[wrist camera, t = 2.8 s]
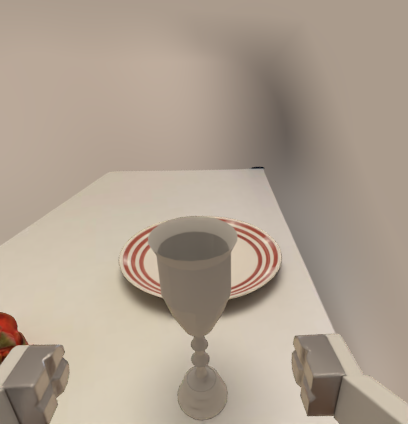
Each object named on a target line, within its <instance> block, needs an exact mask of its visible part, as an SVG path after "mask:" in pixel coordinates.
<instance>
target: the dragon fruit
mask: <svg viewBox="0 0 408 424" xmlns="http://www.w3.org/2000/svg"><path fill="white" fill-rule="evenodd" d="M17 345H28V343H27V341H26V339H25V337H24V336H23V335H22V333H20V332H18V330H17V323H16V321H15V319H14V317H12V316H11V315H9V314H6V313H2V312H0V365H1V363H2V362H3V361H4V359H5V358H6V357H7V355H8V354H9V352H10V351H11V350H12V349H13V348H14V347H16V346H17Z"/></svg>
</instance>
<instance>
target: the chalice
mask: <svg viewBox="0 0 408 424" xmlns="http://www.w3.org/2000/svg"><path fill="white" fill-rule="evenodd" d="M236 242H237V232H236V231H235V229H234V228H233V227H232V226H231V225H229V224H228V223H226V222H224V221H221V220H219V219H216V218H210V217H204V216H189V217H180V218H176V219H172V220H169V221H166V222H164V223H162V224H159V225H158V226H157V227H156V228H154V229H153V230H152V231H151V233H150V234H149V236H148V244H149V246H150V247H151V249H152V250H153V252H154V253H155V254H156V256H157V265H158V273H159V281H160V289H161V296H162V297H163V299H164V301H165V303H166V305H167V306H168V308H169V310H170V312H171V314H172V315H173V317H174V318H175V320H176V321H177V322H178V323H179V324H180V326H181V327H182V328H183V329H184V330H185V332H187V333H188V334H189V335H192V336H194V339H193V340H192V342H191V347H192V349H193V350H195V353H194V354H193V355H192V357H191V361H192V363H193V364H194V365H195V366H194V367H192V368H191V369H190V370H189V371H187V373H186V375H185V376H184V379H183V380H182V383H181V385H180V386H179V390H178V402H179V405H180V407H181V409H182V410H183V411H184V412H185V413H186V414H187V415H188V416H190V417H192V418H194V419H200V420H205V419H210V418H212V417H214V416H216V415H218V414H219V413H220V412H221V410H222V409H223V408H224V406H225V404H226V402H227V394H228V392H227V388H226V385H225V383H224V381H223V380H222V379H221V377H220V375H219V374H218V372H217V371H216V370H215V369H214V368H213V367H210V366H208V365H207V364H208V363H209V360H210V358H209V355H208V354H207V353H206V352H205V349H206V348H207V347H208V342H207V340H206V339H205V337H204V335H207V334H208V333H209V332H211V330H212V329H213V327H214V326H215V324H216V323H217V321H218V319H219V318H220V316H221V315H222V313H223V311H224V309H225V306H226V304H227V301H228V299H229V297H230V294H231V251H232V249H233V248H234V246H235V244H236Z"/></svg>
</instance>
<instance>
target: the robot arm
mask: <svg viewBox="0 0 408 424" xmlns="http://www.w3.org/2000/svg"><path fill="white" fill-rule="evenodd" d="M293 345H294V347H295V351H294V352H293V353H292V360H291V361H292V370H293V374H294V378H295V381H296V383H297V384H298V385H299V386H300V387H301V394H300V396H301V399H302V402H303V405H304V408H305V411H306V414H307V416H334V418H335V419H336V420H337V421H338V422H339V424H408V403H406V402H405V401H404V400H402V399H401V398H399V397H398V396H397V395H395V394H394V393H393V392H391V391H390V390H389V389H387V388H386V387H384V386H383V385H382V384H380V383H379V382H378V381H376V380H375V379H373V378H372V377H371V376H369V375H364V374H363V372H362V370H361V368H360V367H359V365H358V363H357V362H356V360H355V358H354V357H353V355H352V353H351V352H350V350H349V348H348V347H347V345H346V343H345V341H344V340H343V338H342V336H340V335H339V334H324V335H323V334H318V335H298V336H295V337H294V341H293ZM64 353H65V351H64V348H63V345H17V346H16V347H14V348H13V349H12V350H11V351H10V352H9V354H8V355H7V357H6V358H5V359H4V361H3V362H2V363H1V365H0V424H49V423H50V421H51V419H52V417H53V414H54V412H55V410H56V408H57V406H58V403H57V399H56V398H57V397H58V396H59V395H60V394H62V393H63V392H64V390H65V388H66V385H67V383H68V378H69V364H68V361H66V360H65V359H64V358H63V355H64Z"/></svg>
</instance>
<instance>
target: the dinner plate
mask: <svg viewBox="0 0 408 424" xmlns="http://www.w3.org/2000/svg"><path fill="white" fill-rule="evenodd" d="M204 217H210V218H216V219H219V220H221V221H224V222H226V223H228V224H229V225H231V226H232V227H233V228H234V229H235V231H236V232H237V242H236V244H235V246H234V248H233V249H232V251H231V294H230V297H229V299H233V298H237V297H241V296H244V295H246V294H249V293H251V292H253V291H255V290H257V289H259V288H260V287H262V286H264V285H265V284H266V283H268V282H269V281H270V280H271V279H272V278H273V277H274V276H275V275H276V273H277V272H278V270H279V268H280V265H281V261H282V254H281V250H280V248H279V246H278V244H277V242H276V241H275V240H274V239H273V238H272V237H271V236H270V235H269V234H267V233H266V232H264V231H263V230H261V229H260V228H258V227H256V226H253V225H251V224H249V223H246V222H243V221H239V220H235V219H230V218H224V217H214V216H204ZM171 220H172V219H171ZM167 221H169V220H167ZM164 222H166V221H163V222H160V223H157V224H154V225H152V226H149V227H147V228H145V229H143V230H141V231H140V232H138V233H137V234H135V235H134V236H133V237H131V238H130V239H129V240H128V241H127V243H126V244H125V245H124V247H123V248H122V250H121V253H120V256H119V266H120V269H121V272H122V274H123V275H124V277H125V278H126V279H127V280H128V281H129V282H130V283H131V284H133V285H134V286H135V287H137V288H138V289H140V290H142V291H144V292H146V293H149V294H151V295H154V296H157V297H160V298H163V297H162V296H161V289H160V281H159V273H158V265H157V256H156V254H155V253H154V252H153V250H152V249H151V247H150V246H149V244H148V236H149V234H150V233H151V231H152V230H153V229H154V228H156V227H157V226H158V225H159V224H162V223H164Z"/></svg>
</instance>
